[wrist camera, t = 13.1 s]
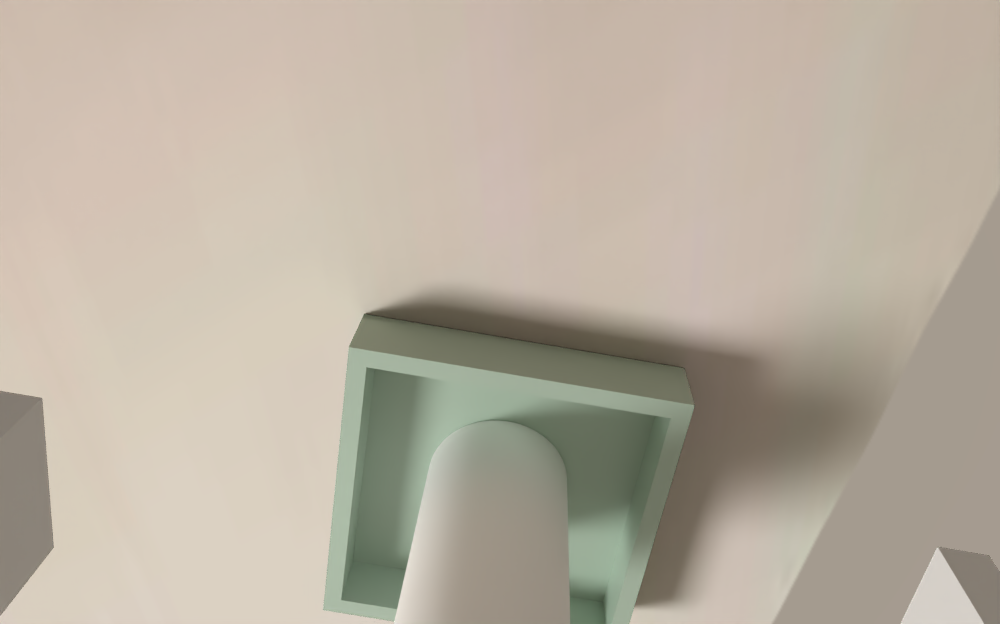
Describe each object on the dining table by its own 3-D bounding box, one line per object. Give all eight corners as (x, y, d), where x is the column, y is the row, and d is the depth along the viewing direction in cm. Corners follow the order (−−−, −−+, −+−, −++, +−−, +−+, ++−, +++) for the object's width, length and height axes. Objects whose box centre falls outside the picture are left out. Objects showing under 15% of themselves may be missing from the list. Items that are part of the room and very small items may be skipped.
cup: (537, 402, 49) (530, 610, 34) (586, 513, 52) (598, 747, 37) (406, 443, 51) (346, 658, 36) (460, 549, 54) (426, 786, 39)
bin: (364, 313, 48) (348, 347, 44) (684, 368, 48) (694, 405, 45) (338, 564, 55) (323, 609, 52) (614, 609, 56) (618, 657, 52)
